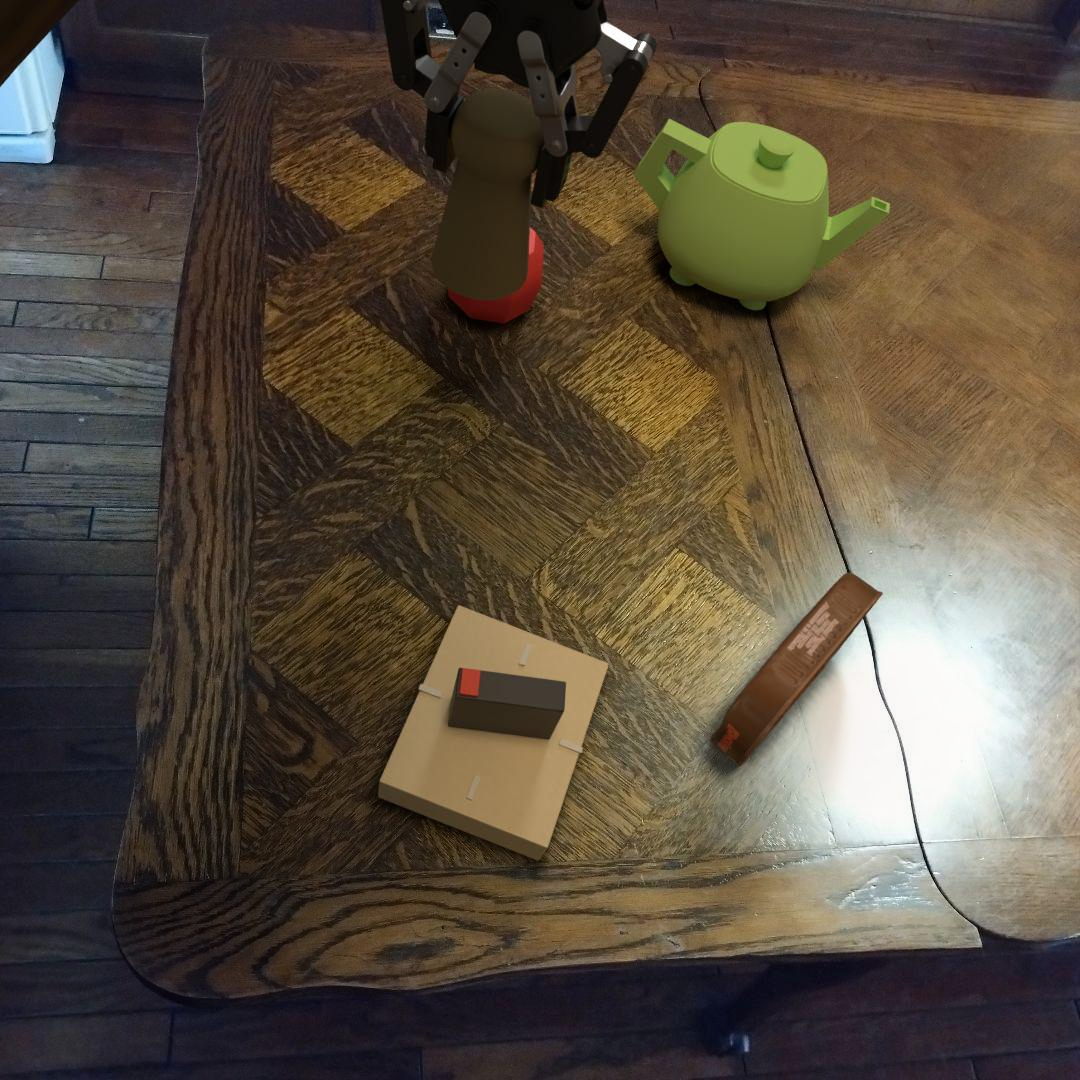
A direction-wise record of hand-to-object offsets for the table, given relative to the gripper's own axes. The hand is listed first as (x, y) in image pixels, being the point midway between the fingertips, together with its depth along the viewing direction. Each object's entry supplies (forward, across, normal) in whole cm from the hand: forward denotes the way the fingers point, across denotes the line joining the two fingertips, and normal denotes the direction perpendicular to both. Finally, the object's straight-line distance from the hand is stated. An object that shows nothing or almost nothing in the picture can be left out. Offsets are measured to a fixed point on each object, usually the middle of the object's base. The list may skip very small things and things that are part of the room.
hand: (492, 179), depth 55 cm
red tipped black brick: (+17, -11, +23) cm, 31 cm away
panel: (+21, -11, +23) cm, 33 cm away
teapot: (+21, -15, -25) cm, 36 cm away
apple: (+21, +2, -11) cm, 24 cm away
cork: (+7, 0, 0) cm, 7 cm away
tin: (+21, -27, +13) cm, 37 cm away
